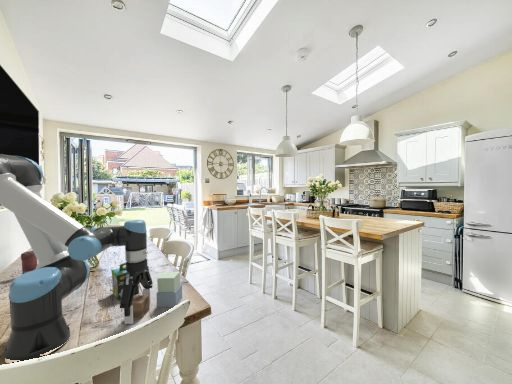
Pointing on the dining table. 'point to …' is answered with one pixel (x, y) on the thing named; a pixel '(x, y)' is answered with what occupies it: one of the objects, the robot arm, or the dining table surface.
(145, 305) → the walnut block
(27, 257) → the can
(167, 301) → the slate block
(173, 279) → the sage block
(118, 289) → the chalk box
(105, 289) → the dining table surface
